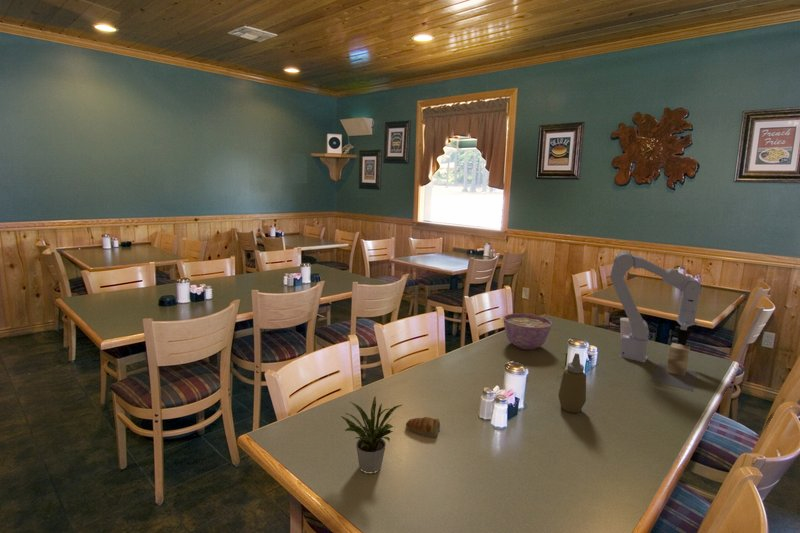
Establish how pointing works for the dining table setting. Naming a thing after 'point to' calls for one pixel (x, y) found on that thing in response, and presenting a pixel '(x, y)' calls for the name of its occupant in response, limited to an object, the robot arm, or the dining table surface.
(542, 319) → the bowl of food
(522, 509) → the dining table surface
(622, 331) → the smoothie
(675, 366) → the birch block
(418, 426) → the pastry
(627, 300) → the robot arm
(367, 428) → the house plant
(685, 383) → the rubber mat
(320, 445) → the dining table surface
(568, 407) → the squeeze bottle
